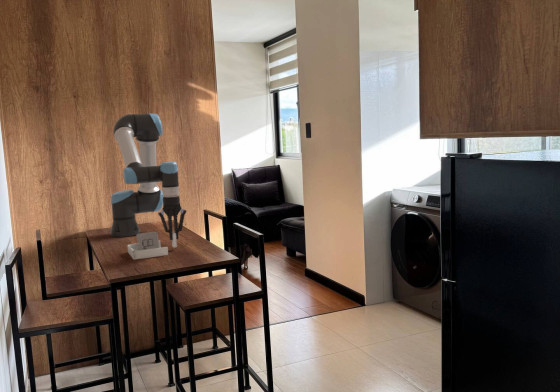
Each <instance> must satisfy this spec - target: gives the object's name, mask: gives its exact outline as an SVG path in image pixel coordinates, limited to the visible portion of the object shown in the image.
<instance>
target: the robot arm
mask: <svg viewBox="0 0 560 392" xmlns="http://www.w3.org/2000/svg"><path fill="white" fill-rule="evenodd" d="M163 132H164V131H163V123H162V121H161V118H160V116H159V115H158V114H157V113H150V112H149V113H135V114H134V113H130V114H124V115H123V116H121V117H119V118H118V120H117V121H116V122H115V123H114V127H113V130H112V133H113V136H114V137H113V138H114V140H115V141H116V142H117V144H118V147H119V150H120V153H121V156H122V159H123V162H124V166H125V168H123V172H122V176H123V181H124V183H125V184H126V185H137V184H140V185H139V186H138V187H137V191H135V192H134V190H133V189H125V190H120V191H117V192H116V191H115V192H114V193H112V195H111V196H110V204H111V209H112V210H111V211H112V213H111V214H112V215H111V216H112V224H111V228H110V237H113V238H115V237H116V238H124V237H125V238H126V237H131V236H132V237H133V236H136V235H137V234H141V230H140V226H139V224H138V222H137V219H136V214H145V213H154V212H157V214H158V216H159V217H160V219H161V223H162V226H163V229H164V232H165V233H168V235H169V236H168V237H169V240H170V241H171V245H172V248H177V247H178V245H177V244H178V242H177V240H179V233H180V232H182V231H183V225H184V221H185V220H184V219H185V215H186V213H187V210H186V209H185V208H184V209H183V208H182V206H181V199H180V196H179V195H180V188H179V187H180V185H179V184H180V183H179V169H178V163H177V162H176V161H164V162H161V163H160V165H157V143H158V142H159V141H160V137H161V136H163ZM134 138H135V139H134ZM135 140H136V141H137V142H138V145H139V151H138V147H137V145H136V142H135ZM158 183H161V189H162V190H161V189H160V187H159V185H158ZM179 213H180V215H179ZM165 215H166V216H167V222H166V219H165ZM178 215H179V216H180V217H179V221H178ZM172 218H173V219H172ZM167 224H168V225H167ZM173 227H174V228H173ZM173 230H174V231H173Z"/></svg>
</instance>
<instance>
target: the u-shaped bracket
mask: <svg viewBox="0 0 560 392" xmlns="http://www.w3.org/2000/svg"><path fill="white" fill-rule="evenodd" d="M158 243H159V248H154V249H146V250H145V248H143V250H139V251H138V243H130V244H127V253H128V254H129V256H130V257H131V258H132V260H140V259H141V260H142V259H148V258H155V257H162V256H163V257H164V256H169V248H168V246H162V244H161V240H158Z"/></svg>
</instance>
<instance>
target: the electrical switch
mask: <svg viewBox="0 0 560 392" xmlns="http://www.w3.org/2000/svg"><path fill="white" fill-rule="evenodd" d="M135 236H136V241H137V243H138V251H139V250H143V248H145V250H146V249H154V248H159V243H158V241H159V236H158V232H157V231H152V232H151V231H150V232H143V233H142V232H140V233H139V234H137V235H135ZM137 243H136V244H137Z"/></svg>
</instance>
